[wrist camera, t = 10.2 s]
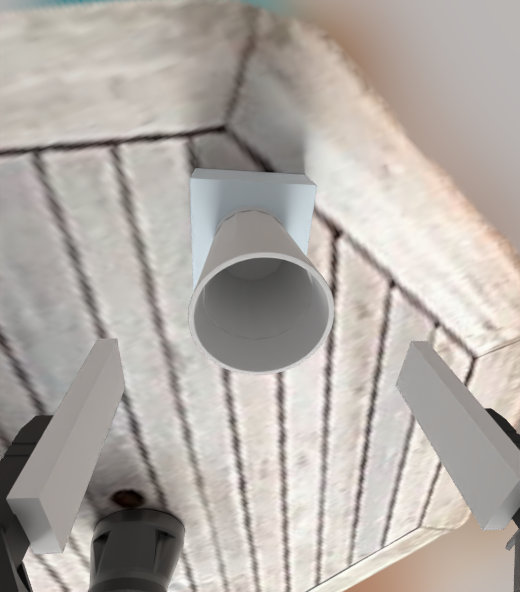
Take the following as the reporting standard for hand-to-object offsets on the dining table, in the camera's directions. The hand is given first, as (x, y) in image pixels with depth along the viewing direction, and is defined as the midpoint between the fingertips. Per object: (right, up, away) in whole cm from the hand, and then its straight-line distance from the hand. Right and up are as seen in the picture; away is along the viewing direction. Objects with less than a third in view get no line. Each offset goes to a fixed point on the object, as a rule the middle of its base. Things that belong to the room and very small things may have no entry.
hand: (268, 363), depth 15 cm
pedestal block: (-2, +10, +18) cm, 21 cm away
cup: (-1, +8, +14) cm, 16 cm away
